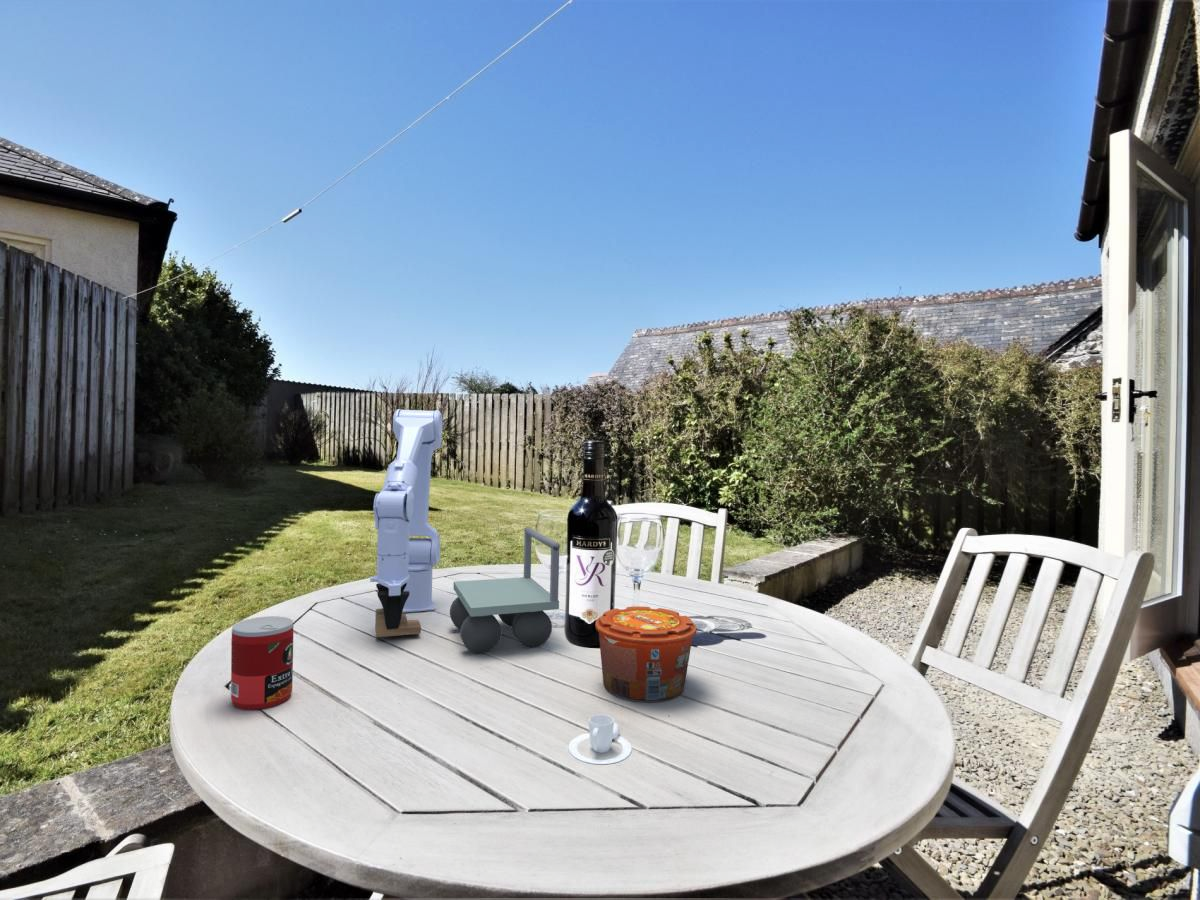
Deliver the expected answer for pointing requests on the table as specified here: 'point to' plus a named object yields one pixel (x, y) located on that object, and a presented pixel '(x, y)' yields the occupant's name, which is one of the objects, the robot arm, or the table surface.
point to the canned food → (261, 662)
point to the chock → (404, 629)
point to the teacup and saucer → (601, 739)
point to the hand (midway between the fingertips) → (391, 624)
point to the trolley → (507, 604)
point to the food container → (645, 652)
